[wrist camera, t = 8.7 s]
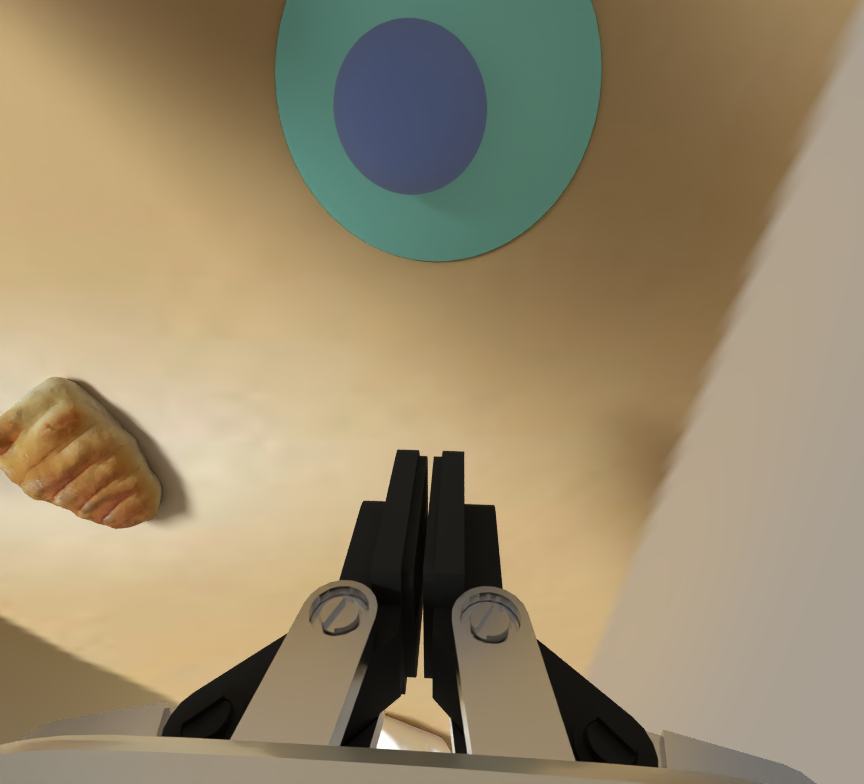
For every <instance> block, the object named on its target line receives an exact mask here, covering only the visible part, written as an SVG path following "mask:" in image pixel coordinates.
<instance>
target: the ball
mask: <svg viewBox="0 0 864 784" xmlns="http://www.w3.org/2000/svg"><path fill="white" fill-rule="evenodd" d="M333 109H334V119H335V125H336V129H337V133H338V136H339V139H340V142H341V144H342V146H343V148H344V150H345V152H346V154H347V156H348V157H349V159H350V160H351V162H352V163H353V165H354V166H355V167H356V168H357V169H358V170H359V171H360V172H361V173H362V174H363V175H364V176H365V177H366V178H367V179H368V180H370V181H371V182H373V183H374V184H376V185H377V186H379V187H381V188H383V189H386V190H388V191H391V192H395V193H399V194H405V195H419V194H425V193H429V192H433V191H436V190H438V189H441V188H442V187H444V186H446V185H448V184H449V183H451V182H452V181H454V180H455V179H456V178H457V177H458V176H460V175H461V174H462V173H463V172H464V170H465V169H466V168H467V167H468V166H469V164H470V163H471V161H472V160H473V158H474V157H475V155H476V153H477V151H478V149H479V147H480V144H481V141H482V138H483V135H484V131H485V126H486V119H487V98H486V90H485V86H484V82H483V78H482V75H481V72H480V70H479V67H478V65H477V63H476V61H475V59H474V58H473V56H472V54H471V53H470V52H469V50H468V49H467V47H466V46H465V45H464V44H463V43H462V42H461V41H460V40H459V39H458V38H457V37H456V36H455V35H454V34H453V33H451V32H450V31H448V30H447V29H445V28H444V27H442V26H440V25H438V24H436V23H433V22H431V21H428V20H423V19H418V18H398V19H393V20H390V21H387V22H384V23H381V24H379V25H377V26H375V27H374V28H372V29H371V30H369V31H368V32H367V33H365V34H364V35H363V36H362V37H360V38H359V39H358V40H357V42H356V43H355V44H354V45H353V46H352V48H351V49H350V50H349V52H348V54H347V55H346V57H345V59H344V61H343V63H342V65H341V67H340V70H339V73H338V76H337V79H336V84H335V90H334V99H333Z"/></svg>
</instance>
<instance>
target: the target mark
mask: <svg viewBox="0 0 864 784" xmlns="http://www.w3.org/2000/svg"><path fill="white" fill-rule="evenodd" d="M398 18H418V19H423V20H428V21H431V22H433V23H436V24H438V25H440V26H442V27H444V28H445V29H447V30H448V31H450V32H451V33H453V34H454V35H455V36H456V37H457V38H458V39H459V40H460V41H461V42H462V43H463V44H464V45H465V46H466V47H467V49H468V50H469V52H470V53H471V54H472V56H473V58H474V59H475V61H476V63H477V65H478V67H479V70H480V72H481V75H482V78H483V82H484V86H485V90H486V98H487V119H486V126H485V131H484V135H483V138H482V141H481V144H480V147H479V149H478V151H477V153H476V155H475V157H474V158H473V160H472V161H471V163H470V164H469V166H468V167H467V168H466V169H465V170H464V172H463V173H462V174H461V175H460V176H458V177H457V178H456V179H455V180H454V181H452V182H451V183H449V184H448V185H446V186H444V187H442V188H441V189H438V190H436V191H433V192H429V193H425V194H419V195H405V194H399V193H395V192H391V191H388V190H386V189H383V188H381V187H379V186H377V185H376V184H374V183H373V182H371V181H370V180H368V179H367V178H366V177H365V176H364V175H363V174H362V173H361V172H360V171H359V170H358V169H357V168H356V167H355V166H354V165H353V163H352V162H351V160H350V159H349V157H348V156H347V154H346V152H345V150H344V148H343V146H342V144H341V142H340V139H339V136H338V133H337V129H336V125H335V119H334V109H333V99H334V90H335V84H336V79H337V76H338V73H339V70H340V67H341V65H342V63H343V61H344V59H345V57H346V55H347V54H348V52H349V50H350V49H351V48H352V46H353V45H354V44H355V43H356V42H357V40H358V39H359V38H360V37H362V36H363V35H364V34H365V33H367V32H368V31H369V30H371V29H372V28H374V27H375V26H377V25H379V24H381V23H384V22H387V21H390V20H393V19H398ZM601 75H602V62H601V43H600V37H599V31H598V25H597V19H596V15H595V12H594V8H593V5H592V1H591V0H287V1H286V5H285V8H284V12H283V15H282V19H281V22H280V28H279V34H278V40H277V46H276V62H275V82H276V98H277V104H278V110H279V115H280V121H281V125H282V128H283V132H284V135H285V139H286V142H287V145H288V148H289V150H290V152H291V155H292V157H293V160H294V162H295V164H296V167H297V168H298V170H299V172H300V174H301V176H302V177H303V179H304V181H305V183H306V185H307V186H308V187H309V189H310V190H311V192H312V193H313V195H314V196H315V197H316V199H317V200H318V202H319V203H320V204H321V205H322V206H323V207H324V208H325V209H326V211H327V212H328V213H329V214H330V215H331V216H332V217H333V218H334V219H335V220H336V221H337V222H339V223H340V224H341V225H342V226H343V227H344V228H345V229H347V230H348V231H349V232H351V233H352V234H354V235H355V236H357V237H358V238H360V239H361V240H363V241H364V242H366V243H368V244H370V245H372V246H374V247H376V248H378V249H380V250H382V251H385V252H388V253H391V254H394V255H396V256H400V257H404V258H409V259H414V260H421V261H434V262H437V261H454V260H459V259H464V258H469V257H474V256H477V255H480V254H483V253H486V252H489V251H491V250H493V249H495V248H497V247H500V246H502V245H504V244H506V243H508V242H509V241H511V240H512V239H514V238H516V237H517V236H519V235H520V234H522V233H523V232H525V231H526V230H527V229H528V228H529V227H531V226H532V225H533V224H534V223H535V222H537V221H538V220H539V219H540V218H541V217H542V216H543V215H544V214H545V213H546V212H547V211H548V210H549V209H550V207H551V206H552V205H553V204H554V203H555V202H556V201H557V199H558V198H559V196H560V195H561V194H562V192H563V191H564V190H565V188H566V187H567V186H568V184H569V182H570V181H571V179H572V177H573V175H574V173H575V172H576V170H577V168H578V166H579V165H580V162H581V160H582V158H583V155H584V153H585V151H586V148H587V146H588V144H589V140H590V137H591V134H592V130H593V127H594V124H595V120H596V115H597V110H598V104H599V99H600V90H601Z"/></svg>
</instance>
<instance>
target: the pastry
mask: <svg viewBox="0 0 864 784" xmlns="http://www.w3.org/2000/svg"><path fill="white" fill-rule="evenodd" d="M0 468H1V469H2V470H3V471H4V472H5V473H6V475H7V476H8V478H9V479H10V480H11V481H12V482H14V483H16V484H18V485H19V486H20V487H21V488H22V490H23V491H24V493H26V494H27V495H28V496H30V497H31V498H33V499H35V500H43V501H47V502H49V503H53V504H54V505H56V506H60V507H62V508H65V509H68V510H70V511H72V512H73V513H74V514H75V515H76V516H78V517H80V518H82V519H87V520H91V521H93V522H95V523H98V524H102V525H107V526H109V527H111V528H115V529H117V528H128V527H132V526H135V525H137V524H140V523H142V522H144V521H148V520H151V519H152V518H153V517H154V516H155V515H156V514H157V512H158V509H159V504H160V500H161V494H162V487H161V484H160V482H159V479H158V477H157V476H156V475H155V474H154V473H153V472H152V471H151V469H150V468H149V466H148V464H147V462H146V459H145V457H144V455H143V454H142V452H141V450H140V446H139V444H138V442H137V440H136V438H135V437H134V436H133V435H132V434H130V433H128V432H127V431H125V429H124V428H123V427H122V425H121V424H120V423H119V422H118V421H117V420H115V419H114V417H113V416H112V415H111V414H110V413H109V412H108V411H107V410H106V408H105V407H104V406H103V405H101V404H100V403H99V402H98V401H97V400H96V399H95V398H94V397H92V396H91V395H90V394H89V393H88V392H87V391H86V390H84V389H83V388H82V387H80V386H79V385H78V384H77V383H75V382H73V381H70V380H68V379H64V378H61V377H52V378H49V379H47V380H45V381H44V382H42V383H41V384H39V385H38V386H36V387H35V388H33V389H32V390H30V391H29V392H28V393H27V394H26V395H25V396H24V397H23V398H22V399H21V401H19V402H18V403H16V404H15V405H14V406H13V407H12V408H11V409H10V410H8V411H7V412H5V413H4V414H2V415H1V416H0Z"/></svg>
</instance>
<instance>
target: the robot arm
mask: <svg viewBox="0 0 864 784" xmlns="http://www.w3.org/2000/svg"><path fill="white" fill-rule="evenodd" d="M422 611H423V625H424V678H433V699H434V700H435V701H436V702H437V703H438V704H439V706H440V707H441V708H442V709H443V710H444V711H445V712H446V713H447V714H448V716H449V717H450V735H451V743H452V752H453V753H443V752H427V751H411V750H395V749H378V748H376V747H377V744H378V740H379V737H380V733H381V730H382V726H383V723H384V716H385V709H386V708H387V707H388V706H390V705H391V704H392V703H393V702H394V701H396V700H397V699H398V698H399V697H400V696H401V694H405V691H406V682H407V677H415V678H416V676H417V667H418V656H419V644H420V633H421V622H422ZM0 784H816V783H815V782H813V781H812V780H811V779H809V778H808V777H807V776H805V775H804V774H803V773H802V772H800V771H797V770H795V769H793V768H790V767H788V766H786V765H784V764H781V763H777V762H774V761H770V760H767V759H763V758H760V757H756V756H753V755H749V754H746V753H743V752H739V751H736V750H732V749H729V748H725V747H722V746H718V745H715V744H711V743H708V742H704V741H700V740H697V739H694V738H690V737H687V736H683V735H680V734H676V733H673V732H669V731H666V730H663V732H662V735H661V736H660V735H657V734H653V733H649V732H646V731H645V730H644V728H643V727H642V726H641V725H640V724H639V723H638V722H637V721H636V720H635V719H634V718H633V717H632V716H631V715H629V714H628V713H627V712H625V711H624V710H623V709H622V708H621V707H620V706H618V705H617V704H616V703H614V702H613V701H612V700H611V699H610V698H608V697H607V696H606V695H605V694H604V693H602V692H601V691H600V690H599V689H598V688H596V687H595V686H594V685H593V684H591V683H590V682H589V681H588V680H586V679H585V678H584V677H583V676H582V675H580V674H579V673H578V672H577V671H575V670H574V669H573V668H572V667H571V666H569V665H568V664H567V663H566V662H564V661H563V660H562V659H561V658H559V657H558V656H557V655H556V654H555V653H553V652H552V651H551V650H550V649H548V648H547V647H546V646H545V645H544V644H542V643H541V642H540V641H539V640H537V639H536V636H535V633H534V630H533V627H532V624H531V621H530V618H529V615H528V612H527V610H526V608H525V606H524V604H523V603H522V602H521V601H520V600H519V599H518V598H517V597H516V596H515V595H513V594H511V593H510V592H508V591H506V590H504V589H503V588H502V577H501V566H500V555H499V544H498V534H497V523H496V512H495V506H494V505H474V504H464V452H460V451H443V453H442V457H434V461H433V471H432V482H431V492H430V502H429V513H428V459H427V456H420V453H419V450H397V453H396V457H395V462H394V466H393V471H392V475H391V479H390V484H389V488H388V493H387V497H386V501H363V502H362V505H361V508H360V511H359V515H358V518H357V521H356V525H355V528H354V532H353V535H352V539H351V542H350V545H349V549H348V552H347V556H346V559H345V563H344V566H343V569H342V573H341V576H340V580H339V581H335V582H330V583H328V584H326V585H324V586H321V587H319V588H318V589H317V590H316V591H314V592H313V593H312V594H310V596H309V597H308V598H307V600H306V601H305V602H304V604H303V606H302V608H301V610H300V611H299V613H298V615H297V617H296V619H295V621H294V622H293V624H292V626H291V628H290V630H289V632H288V633H287V634H286V635H284V636H282V637H281V638H279V639H278V640H276V641H274V642H273V643H271V644H270V645H268V646H267V647H265V648H263V649H262V650H260V651H259V652H257V653H255V654H254V655H252V656H251V657H249V658H248V659H246V660H244V661H243V662H241V663H240V664H238V665H236V666H235V667H233V668H232V669H230V670H229V671H227V672H225V673H224V674H222V675H221V676H219V677H218V678H216V679H214V680H213V681H211V682H210V683H208V684H206V685H205V686H203V687H202V688H200V689H199V690H197V691H195V692H194V693H193V694H191V695H190V696H189V697H187V698H186V699H185V700H184V701H182V702H181V703H180V704H179V706H173V707H168V704H167V702H160V703H154V704H148V705H143V706H137V707H131V708H125V709H120V710H114V711H109V712H103V713H97V714H91V715H85V716H80V717H74V718H69V719H62V720H57V721H53V722H50V723H47V724H44V725H42V726H39V727H37V728H36V729H34V730H33V731H31V732H29V733H27V734H26V735H24V736H23V737H21V738H20V739H19V740H18V741H17V742H12V743H7V744H2V745H0Z"/></svg>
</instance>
